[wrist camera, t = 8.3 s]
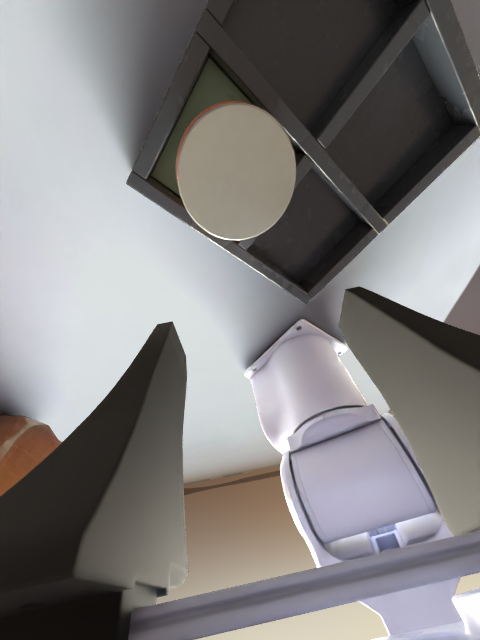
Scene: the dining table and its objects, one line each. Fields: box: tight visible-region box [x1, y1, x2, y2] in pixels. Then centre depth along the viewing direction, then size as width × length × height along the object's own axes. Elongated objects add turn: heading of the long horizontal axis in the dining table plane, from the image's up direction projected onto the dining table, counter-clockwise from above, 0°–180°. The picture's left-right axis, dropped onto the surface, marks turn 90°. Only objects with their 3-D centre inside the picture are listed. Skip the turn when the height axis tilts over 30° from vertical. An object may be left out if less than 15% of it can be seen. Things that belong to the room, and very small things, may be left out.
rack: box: [126, 0, 480, 304], centre depth 15 cm, size 15×15×2 cm
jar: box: [176, 101, 296, 240], centre depth 12 cm, size 5×5×6 cm
